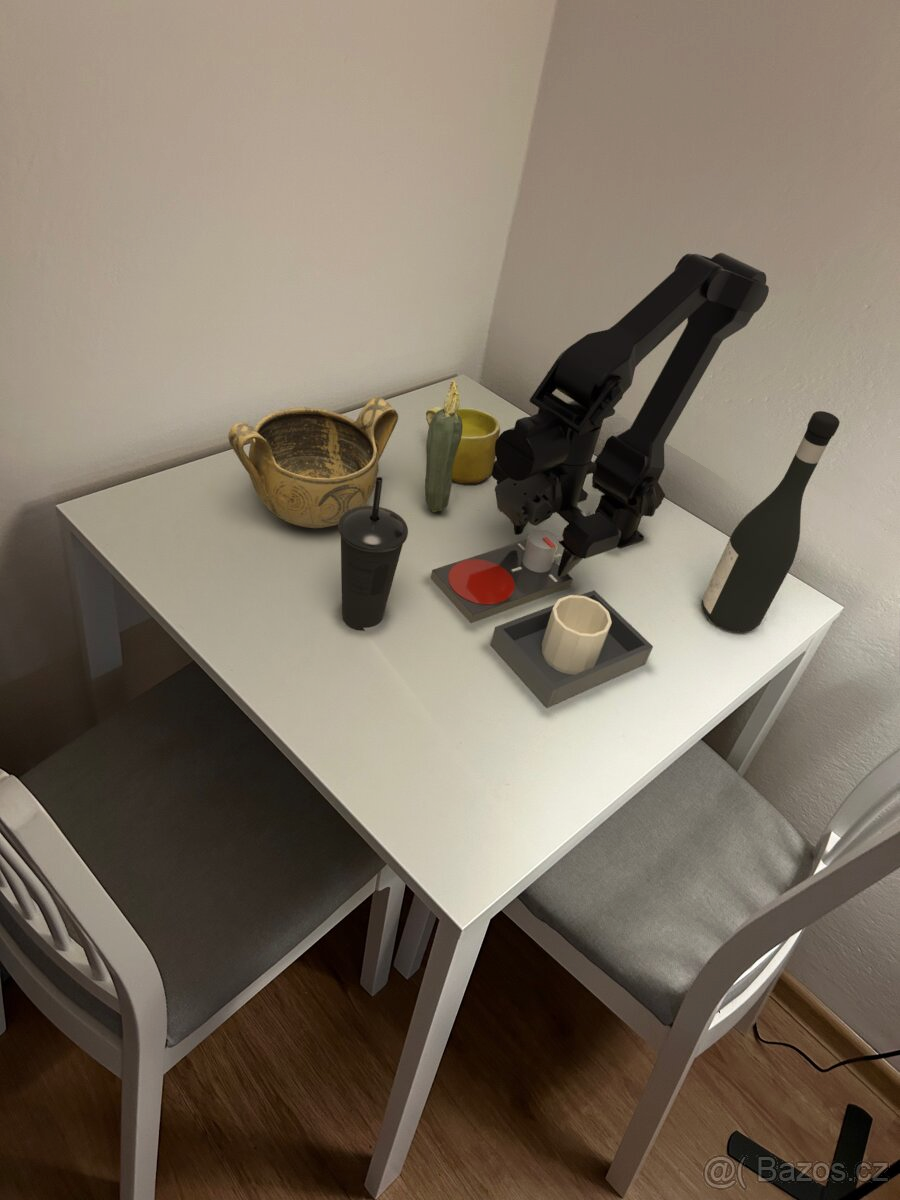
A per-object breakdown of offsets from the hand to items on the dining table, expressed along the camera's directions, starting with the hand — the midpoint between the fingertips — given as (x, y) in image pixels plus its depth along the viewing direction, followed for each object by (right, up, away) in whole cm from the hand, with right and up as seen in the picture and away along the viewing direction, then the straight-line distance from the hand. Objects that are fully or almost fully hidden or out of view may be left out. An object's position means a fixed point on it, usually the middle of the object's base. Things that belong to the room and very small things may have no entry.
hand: (539, 554), depth 116 cm
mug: (-11, +14, +19) cm, 26 cm away
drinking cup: (-22, -8, -8) cm, 25 cm away
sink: (+3, -13, -8) cm, 15 cm away
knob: (0, -1, +1) cm, 1 cm away
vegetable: (-14, +6, +9) cm, 18 cm away
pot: (+3, -12, -9) cm, 15 cm away
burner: (-8, -4, -3) cm, 9 cm away
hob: (-5, -4, 0) cm, 6 cm away
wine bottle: (+25, -8, +2) cm, 26 cm away
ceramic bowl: (-30, +6, +5) cm, 31 cm away
